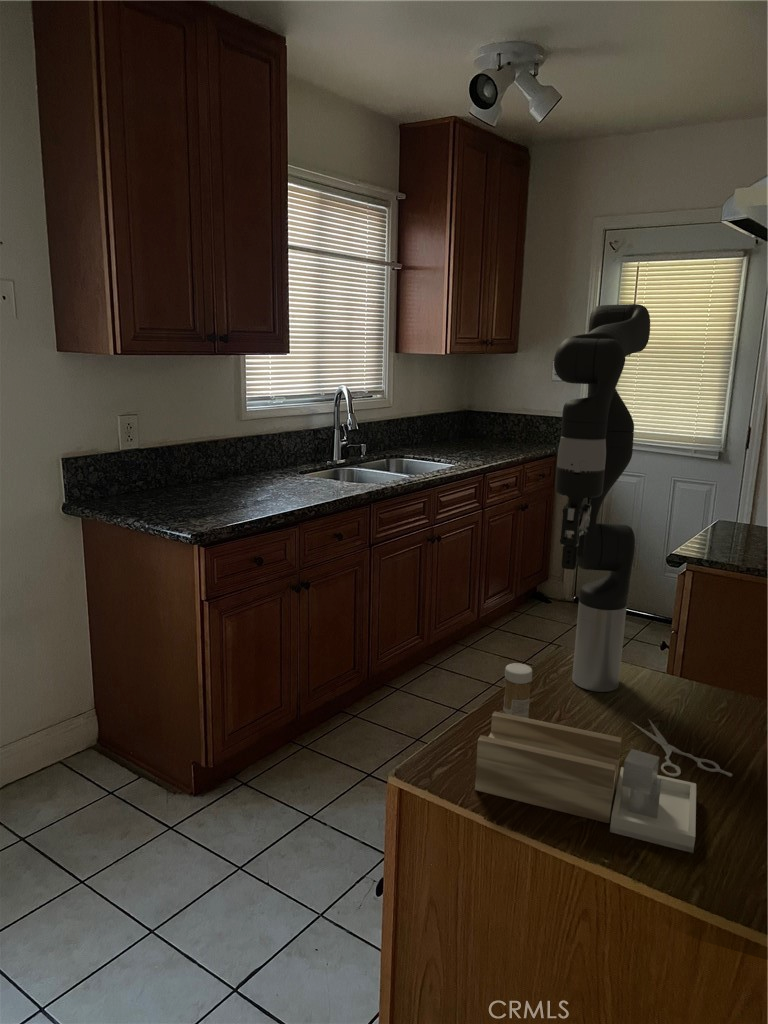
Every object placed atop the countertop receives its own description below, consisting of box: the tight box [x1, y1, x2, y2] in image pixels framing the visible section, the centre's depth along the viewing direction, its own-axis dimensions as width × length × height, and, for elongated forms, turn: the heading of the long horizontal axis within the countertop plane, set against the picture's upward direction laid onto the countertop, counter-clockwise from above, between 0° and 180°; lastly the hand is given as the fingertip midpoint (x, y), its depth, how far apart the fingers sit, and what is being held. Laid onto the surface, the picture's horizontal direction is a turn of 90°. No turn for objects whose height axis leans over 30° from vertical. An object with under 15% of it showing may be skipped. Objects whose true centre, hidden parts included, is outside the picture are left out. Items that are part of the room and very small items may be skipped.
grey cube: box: [622, 748, 660, 794], centre depth 110 cm, size 4×4×4 cm
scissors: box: [629, 719, 733, 778], centre depth 131 cm, size 11×1×20 cm
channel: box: [474, 711, 622, 824], centre depth 116 cm, size 10×20×8 cm, turn 68°
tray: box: [609, 766, 697, 854], centre depth 111 cm, size 14×11×2 cm
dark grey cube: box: [628, 779, 662, 818], centre depth 111 cm, size 4×4×4 cm
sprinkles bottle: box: [502, 662, 533, 718], centre depth 130 cm, size 5×5×13 cm
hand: (572, 561), depth 126 cm, fingers open, 8 cm apart
